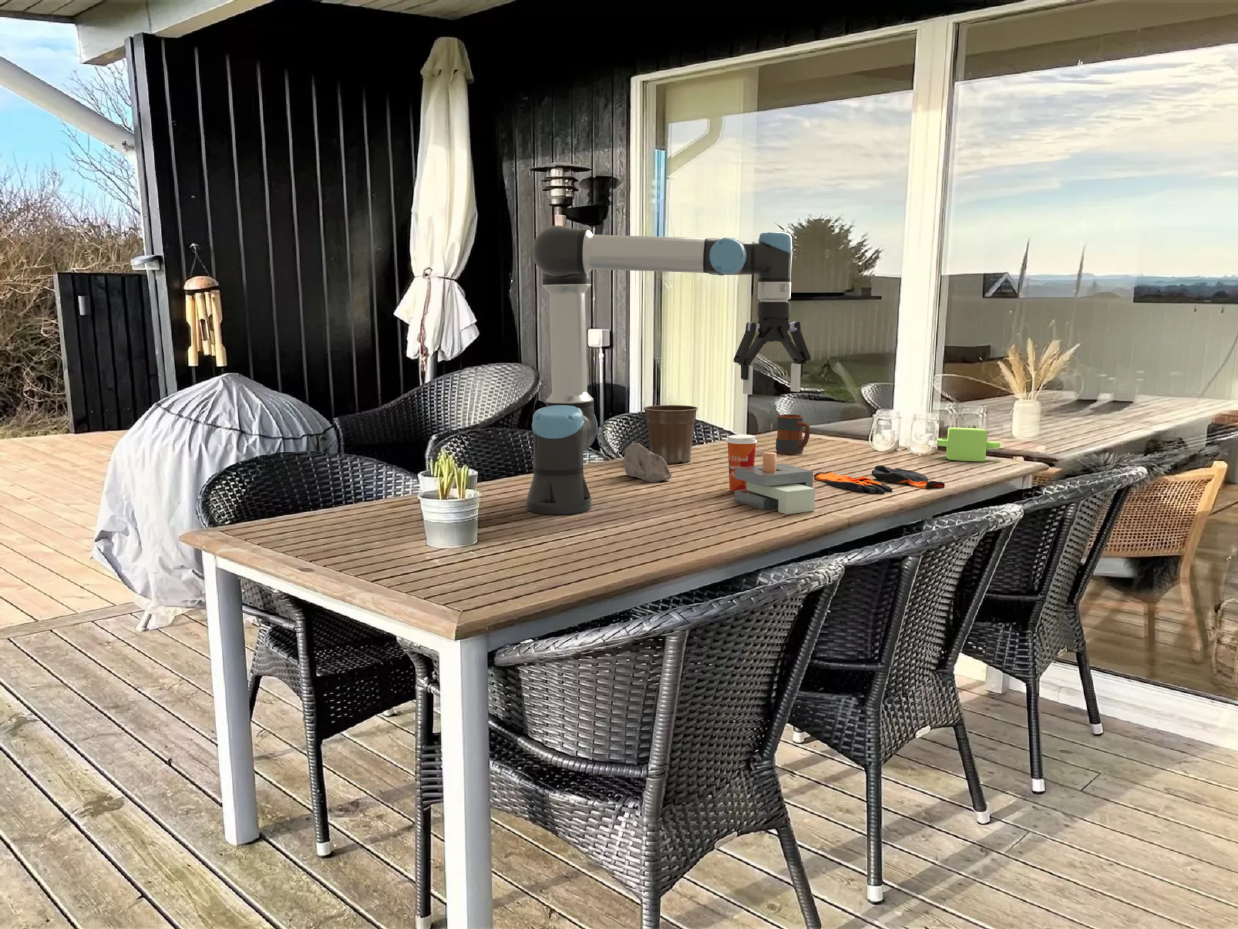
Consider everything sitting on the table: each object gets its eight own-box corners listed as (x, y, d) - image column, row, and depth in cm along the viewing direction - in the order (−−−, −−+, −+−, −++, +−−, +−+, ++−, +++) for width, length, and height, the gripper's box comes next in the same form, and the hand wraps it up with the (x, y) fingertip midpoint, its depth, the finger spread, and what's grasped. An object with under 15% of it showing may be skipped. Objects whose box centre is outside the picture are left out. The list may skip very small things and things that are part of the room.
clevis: (763, 510, 228) (764, 476, 227) (734, 500, 239) (734, 467, 237) (811, 504, 234) (813, 470, 233) (781, 495, 245) (782, 463, 244)
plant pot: (646, 455, 304) (646, 403, 302) (698, 456, 302) (699, 404, 299) (640, 464, 289) (640, 410, 286) (695, 466, 286) (696, 410, 284)
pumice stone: (674, 481, 264) (674, 444, 262) (652, 484, 259) (652, 447, 257) (639, 473, 276) (639, 438, 274) (617, 476, 271) (617, 440, 269)
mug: (799, 457, 301) (800, 419, 299) (769, 452, 310) (770, 415, 308) (817, 454, 307) (818, 416, 305) (787, 449, 316) (788, 413, 314)
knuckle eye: (786, 514, 224) (786, 491, 223) (746, 501, 238) (746, 480, 237) (814, 510, 227) (815, 488, 226) (773, 498, 241) (773, 477, 241)
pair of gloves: (865, 498, 244) (865, 484, 243) (808, 481, 266) (808, 468, 265) (951, 489, 255) (952, 476, 254) (889, 473, 277) (890, 461, 276)
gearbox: (997, 459, 300) (999, 428, 299) (1001, 463, 290) (1004, 431, 289) (935, 455, 304) (937, 425, 303) (937, 459, 295) (939, 428, 293)
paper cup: (719, 491, 250) (720, 436, 248) (737, 486, 256) (738, 433, 253) (744, 495, 245) (745, 439, 242) (762, 490, 250) (763, 436, 248)
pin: (759, 502, 237) (760, 452, 235) (770, 500, 238) (771, 451, 236) (767, 504, 234) (768, 454, 232) (778, 503, 235) (779, 453, 233)
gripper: (738, 301, 219) (736, 396, 223) (827, 300, 230) (824, 391, 234) (719, 301, 226) (718, 393, 229) (807, 300, 237) (804, 388, 240)
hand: (771, 392), depth 232 cm, fingers open, 13 cm apart
